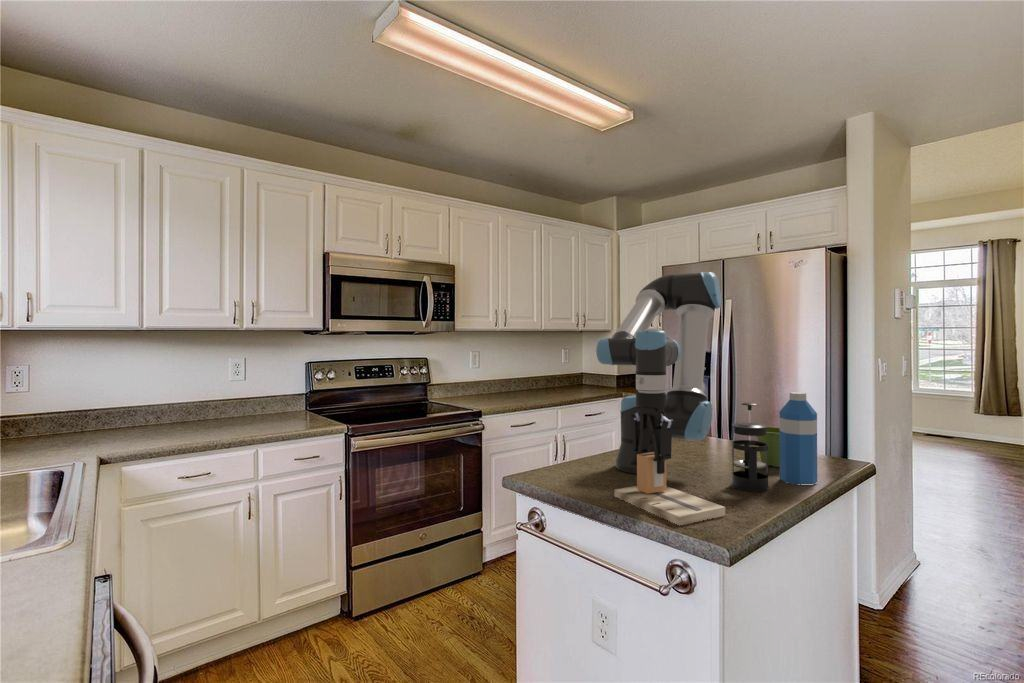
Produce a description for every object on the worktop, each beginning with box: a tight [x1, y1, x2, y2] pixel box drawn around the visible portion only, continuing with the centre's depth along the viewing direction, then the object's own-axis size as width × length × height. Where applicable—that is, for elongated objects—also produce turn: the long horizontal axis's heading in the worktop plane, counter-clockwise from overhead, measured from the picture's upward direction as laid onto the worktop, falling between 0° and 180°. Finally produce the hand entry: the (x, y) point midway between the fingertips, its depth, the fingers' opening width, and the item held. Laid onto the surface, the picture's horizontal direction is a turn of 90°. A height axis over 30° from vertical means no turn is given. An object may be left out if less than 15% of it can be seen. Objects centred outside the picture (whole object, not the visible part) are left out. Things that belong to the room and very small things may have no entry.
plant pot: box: [756, 426, 780, 468], centre depth 166 cm, size 12×12×11 cm
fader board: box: [613, 485, 726, 527], centre depth 127 cm, size 23×14×2 cm, turn 26°
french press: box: [731, 402, 770, 493], centre depth 142 cm, size 12×9×23 cm
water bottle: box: [778, 391, 818, 485], centre depth 147 cm, size 9×9×25 cm
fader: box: [636, 452, 667, 494], centre depth 132 cm, size 4×6×9 cm, turn 116°
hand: (651, 483), depth 132 cm, fingers closed on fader, 4 cm apart
